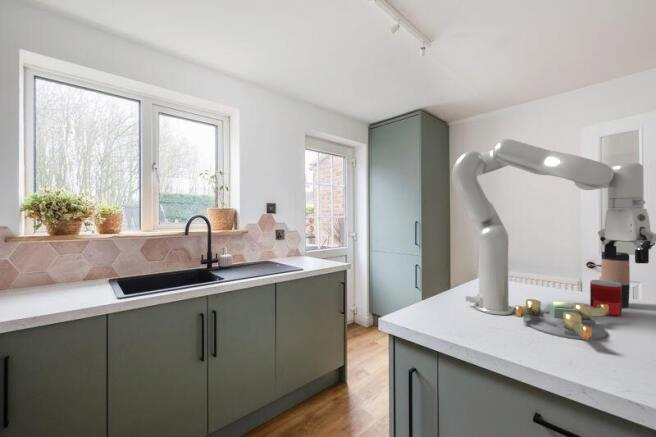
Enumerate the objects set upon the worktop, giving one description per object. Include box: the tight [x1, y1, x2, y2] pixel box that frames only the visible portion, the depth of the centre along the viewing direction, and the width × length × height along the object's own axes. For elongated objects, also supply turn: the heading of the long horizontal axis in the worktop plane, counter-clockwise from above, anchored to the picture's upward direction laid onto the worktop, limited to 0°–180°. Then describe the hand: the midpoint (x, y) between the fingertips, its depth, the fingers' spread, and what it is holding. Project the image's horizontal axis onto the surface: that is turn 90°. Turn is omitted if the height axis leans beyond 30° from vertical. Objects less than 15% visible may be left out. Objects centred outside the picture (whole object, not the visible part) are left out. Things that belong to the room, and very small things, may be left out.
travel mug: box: [600, 251, 631, 309], centre depth 108 cm, size 8×8×20 cm
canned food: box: [589, 279, 623, 318], centre depth 100 cm, size 8×8×11 cm
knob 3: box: [563, 312, 593, 341], centre depth 79 cm, size 12×4×4 cm, turn 159°
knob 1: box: [515, 298, 542, 318], centre depth 93 cm, size 12×4×4 cm, turn 119°
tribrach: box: [522, 301, 607, 341], centre depth 89 cm, size 20×20×8 cm
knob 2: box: [573, 302, 608, 320], centre depth 91 cm, size 12×4×4 cm, turn 99°
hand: (625, 260), depth 87 cm, fingers open, 9 cm apart
